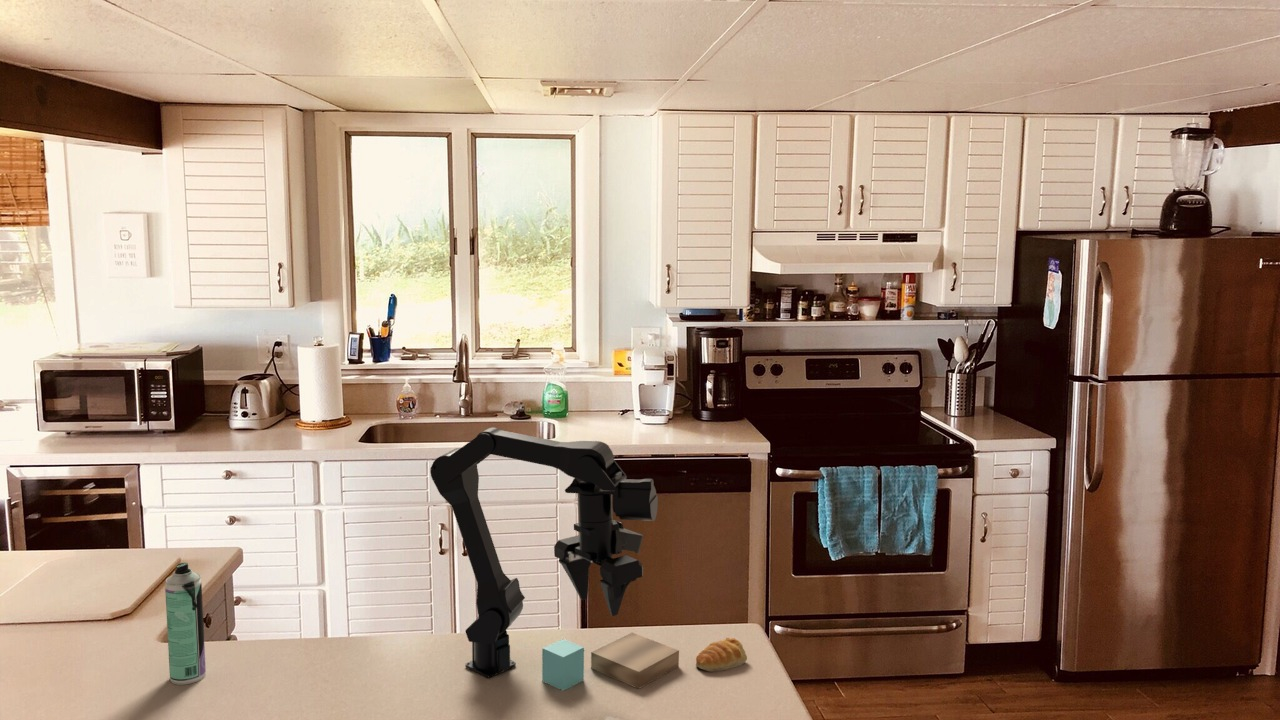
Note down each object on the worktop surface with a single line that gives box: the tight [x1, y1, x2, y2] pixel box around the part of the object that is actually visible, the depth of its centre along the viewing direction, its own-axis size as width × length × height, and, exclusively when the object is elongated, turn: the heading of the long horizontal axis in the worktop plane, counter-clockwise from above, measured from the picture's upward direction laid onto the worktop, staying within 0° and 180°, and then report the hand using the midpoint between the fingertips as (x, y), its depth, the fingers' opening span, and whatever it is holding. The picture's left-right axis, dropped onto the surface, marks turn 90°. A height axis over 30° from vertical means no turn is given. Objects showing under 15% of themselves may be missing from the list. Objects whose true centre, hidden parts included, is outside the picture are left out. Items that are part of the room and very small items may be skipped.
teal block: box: [541, 638, 585, 691], centre depth 158 cm, size 5×5×6 cm
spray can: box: [164, 562, 207, 686], centre depth 156 cm, size 6×6×20 cm
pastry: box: [695, 637, 748, 672], centre depth 165 cm, size 9×7×4 cm
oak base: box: [590, 632, 680, 690], centre depth 163 cm, size 11×11×3 cm
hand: (598, 607), depth 156 cm, fingers open, 9 cm apart
